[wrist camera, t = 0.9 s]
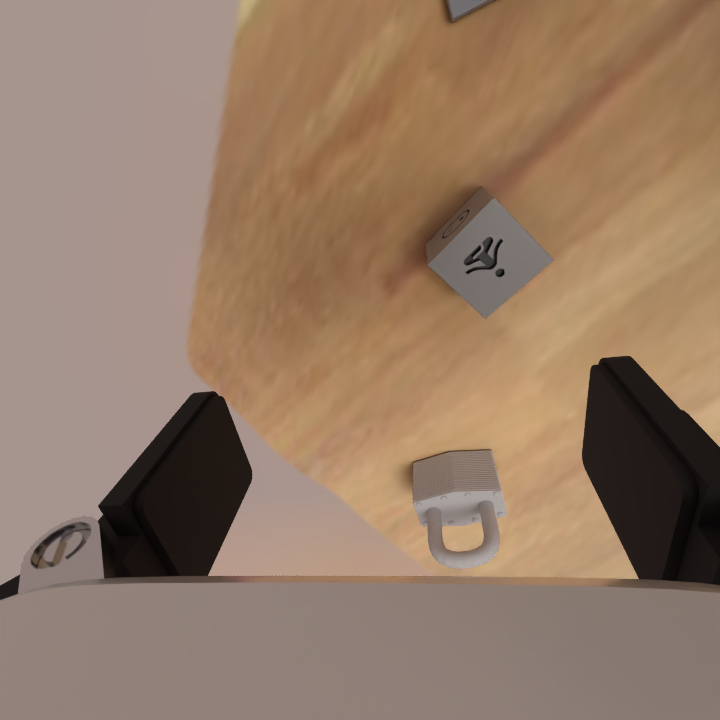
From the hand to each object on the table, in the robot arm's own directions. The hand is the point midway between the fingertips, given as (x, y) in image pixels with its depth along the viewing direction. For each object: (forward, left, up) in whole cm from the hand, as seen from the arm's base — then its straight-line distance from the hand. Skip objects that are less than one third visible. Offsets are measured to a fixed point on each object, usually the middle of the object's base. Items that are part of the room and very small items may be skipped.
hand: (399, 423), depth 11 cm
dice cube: (-4, +2, -21) cm, 22 cm away
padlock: (+3, +21, -21) cm, 30 cm away
